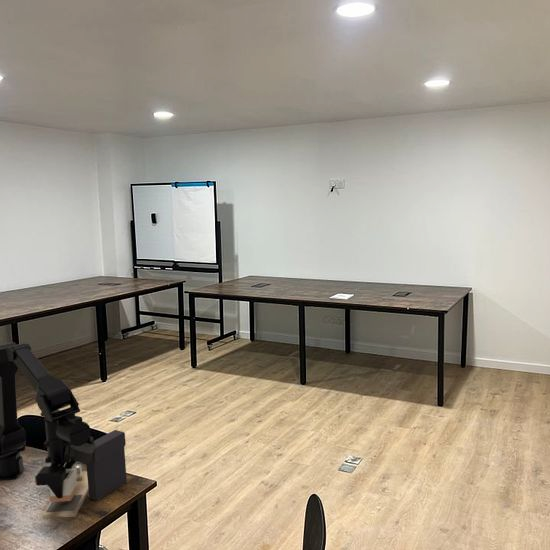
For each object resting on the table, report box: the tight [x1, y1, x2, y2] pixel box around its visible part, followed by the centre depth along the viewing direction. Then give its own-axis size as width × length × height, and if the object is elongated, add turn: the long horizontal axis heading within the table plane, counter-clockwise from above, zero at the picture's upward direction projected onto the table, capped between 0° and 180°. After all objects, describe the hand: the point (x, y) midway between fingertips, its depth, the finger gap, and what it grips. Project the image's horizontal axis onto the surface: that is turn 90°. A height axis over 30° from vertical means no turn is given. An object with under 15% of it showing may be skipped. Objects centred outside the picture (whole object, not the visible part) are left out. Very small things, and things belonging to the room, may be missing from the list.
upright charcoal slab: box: [85, 429, 128, 501], centre depth 146 cm, size 11×4×15 cm, turn 151°
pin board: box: [42, 470, 89, 519], centre depth 145 cm, size 8×21×1 cm, turn 3°
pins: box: [60, 463, 83, 505], centre depth 145 cm, size 2×14×4 cm, turn 3°
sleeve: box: [48, 468, 77, 502], centre depth 139 cm, size 5×5×6 cm
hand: (63, 492), depth 139 cm, fingers closed on sleeve, 5 cm apart
